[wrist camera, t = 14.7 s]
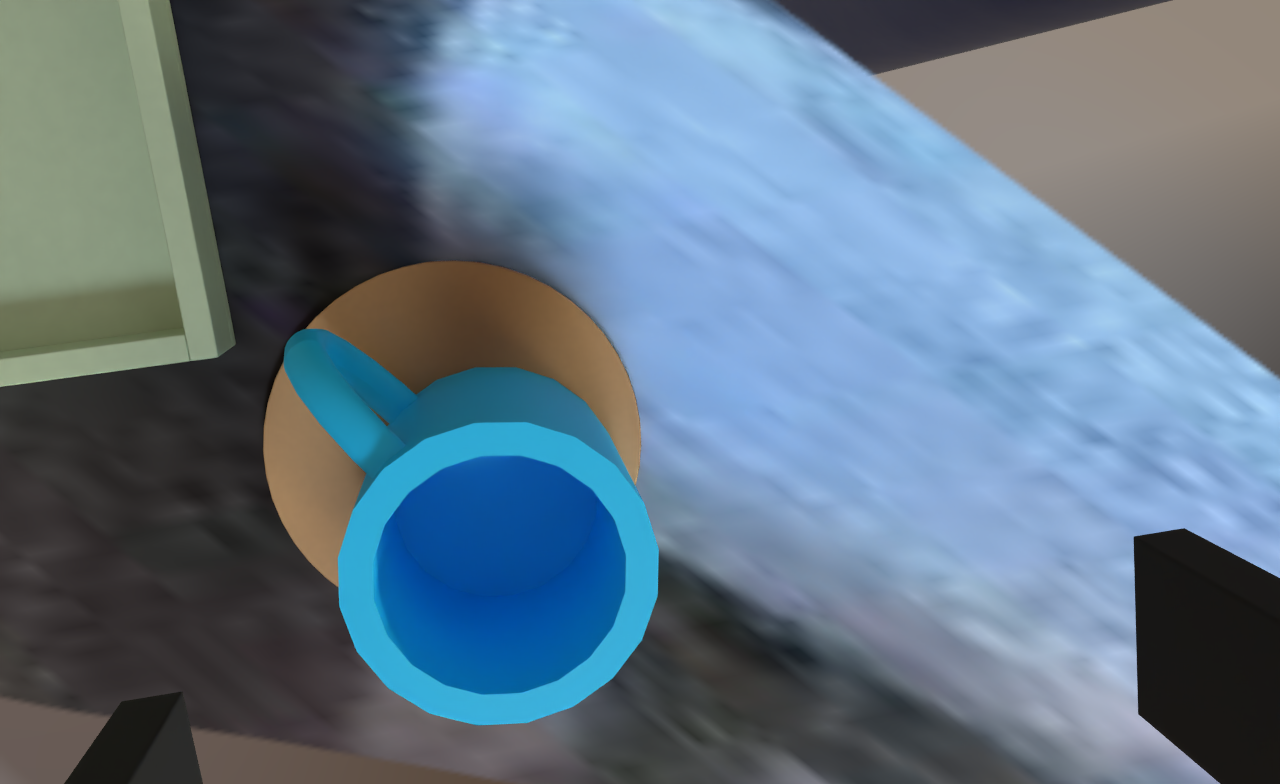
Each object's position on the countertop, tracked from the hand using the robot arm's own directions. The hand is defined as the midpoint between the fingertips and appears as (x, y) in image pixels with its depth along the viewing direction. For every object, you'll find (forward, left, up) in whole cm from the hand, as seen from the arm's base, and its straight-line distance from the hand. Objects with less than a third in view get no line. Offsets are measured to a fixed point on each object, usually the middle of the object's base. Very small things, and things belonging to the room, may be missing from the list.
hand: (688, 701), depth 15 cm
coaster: (+4, +1, -22) cm, 22 cm away
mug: (+4, +1, -22) cm, 22 cm away
